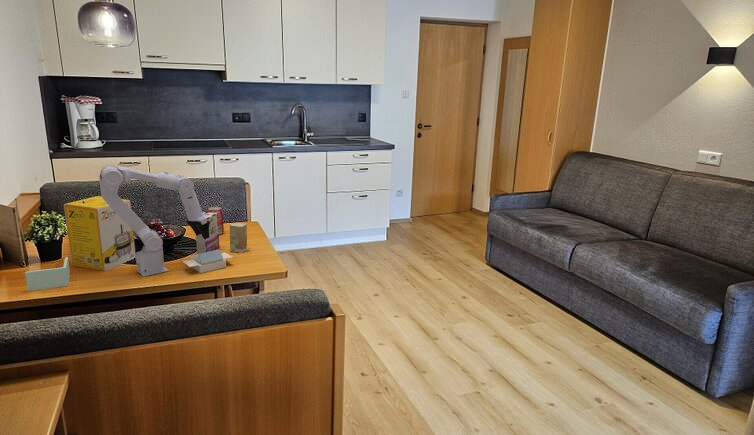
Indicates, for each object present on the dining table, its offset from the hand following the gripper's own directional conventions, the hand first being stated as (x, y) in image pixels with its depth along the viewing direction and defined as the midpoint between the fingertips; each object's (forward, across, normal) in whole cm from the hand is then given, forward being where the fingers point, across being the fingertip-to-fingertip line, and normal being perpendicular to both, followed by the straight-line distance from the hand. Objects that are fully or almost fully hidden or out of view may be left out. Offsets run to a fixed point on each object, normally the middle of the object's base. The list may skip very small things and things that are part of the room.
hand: (202, 236), depth 199 cm
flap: (+6, -8, +3) cm, 11 cm away
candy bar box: (+13, +13, -4) cm, 18 cm away
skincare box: (+16, +6, -14) cm, 22 cm away
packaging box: (+2, +25, +33) cm, 41 cm away
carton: (+11, -3, +4) cm, 12 cm away
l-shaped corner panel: (-2, +14, +53) cm, 55 cm away
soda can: (+15, +35, -18) cm, 42 cm away
